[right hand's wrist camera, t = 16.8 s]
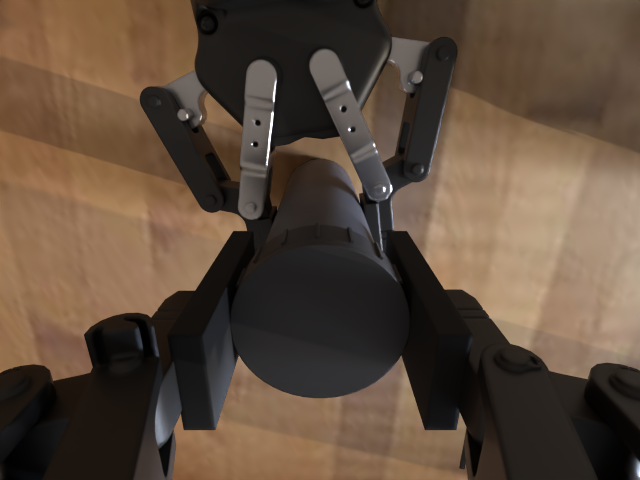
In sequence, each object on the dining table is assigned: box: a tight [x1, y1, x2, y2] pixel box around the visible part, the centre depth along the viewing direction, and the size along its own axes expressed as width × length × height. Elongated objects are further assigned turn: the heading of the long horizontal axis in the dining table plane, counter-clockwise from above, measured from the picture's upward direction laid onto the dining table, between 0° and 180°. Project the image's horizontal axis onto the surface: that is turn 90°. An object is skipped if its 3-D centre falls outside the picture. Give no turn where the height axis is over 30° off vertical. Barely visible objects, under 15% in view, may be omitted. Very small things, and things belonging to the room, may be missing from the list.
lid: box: [230, 222, 410, 398], centre depth 11 cm, size 5×5×2 cm
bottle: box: [266, 159, 374, 243], centre depth 18 cm, size 4×4×15 cm
